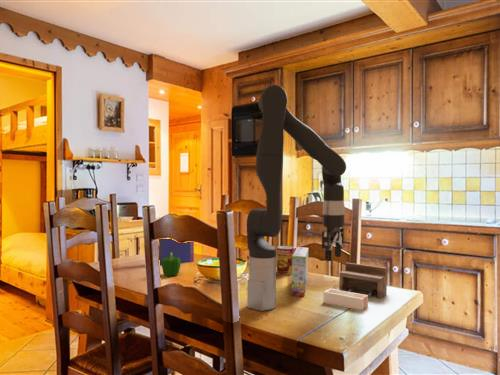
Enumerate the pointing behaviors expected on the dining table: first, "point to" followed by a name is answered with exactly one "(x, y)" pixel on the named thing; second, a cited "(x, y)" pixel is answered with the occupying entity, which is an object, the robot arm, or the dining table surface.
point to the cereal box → (176, 250)
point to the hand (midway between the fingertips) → (333, 258)
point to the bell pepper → (171, 265)
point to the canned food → (284, 260)
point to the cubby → (364, 279)
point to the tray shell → (345, 299)
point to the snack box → (299, 271)
